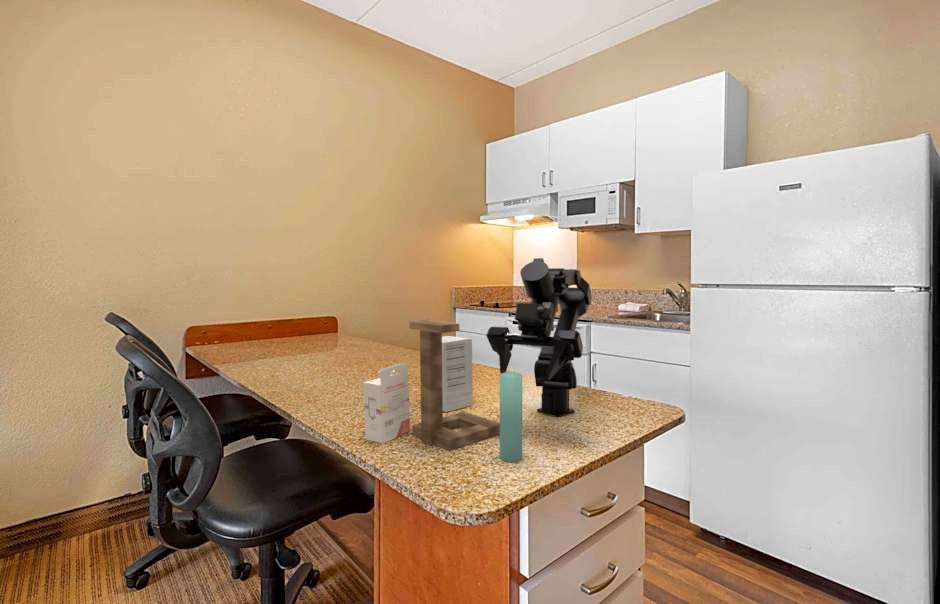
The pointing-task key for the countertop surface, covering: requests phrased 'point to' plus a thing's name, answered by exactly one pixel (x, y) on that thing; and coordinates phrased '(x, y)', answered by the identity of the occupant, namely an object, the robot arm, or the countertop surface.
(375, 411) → the ink cartridge box
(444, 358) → the supplement box
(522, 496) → the countertop surface
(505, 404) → the peg
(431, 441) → the socket stand
